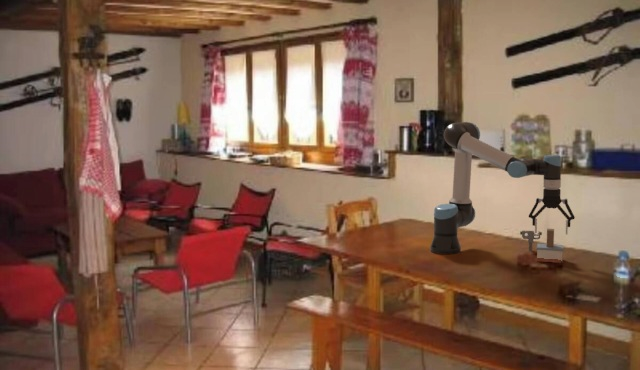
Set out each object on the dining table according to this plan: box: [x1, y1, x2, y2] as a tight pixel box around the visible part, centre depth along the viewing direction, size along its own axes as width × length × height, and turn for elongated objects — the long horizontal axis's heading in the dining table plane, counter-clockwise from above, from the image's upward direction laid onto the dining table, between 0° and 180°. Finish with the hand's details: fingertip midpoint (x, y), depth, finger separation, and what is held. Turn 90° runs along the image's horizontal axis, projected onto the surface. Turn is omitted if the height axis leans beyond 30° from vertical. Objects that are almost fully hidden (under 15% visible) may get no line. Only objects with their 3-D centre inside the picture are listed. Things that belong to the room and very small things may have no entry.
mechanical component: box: [519, 230, 543, 252], centre depth 323 cm, size 3×10×10 cm, turn 78°
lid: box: [536, 228, 564, 252], centre depth 301 cm, size 12×9×10 cm
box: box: [536, 249, 563, 262], centre depth 302 cm, size 11×8×6 cm
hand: (551, 233), depth 301 cm, fingers open, 13 cm apart
